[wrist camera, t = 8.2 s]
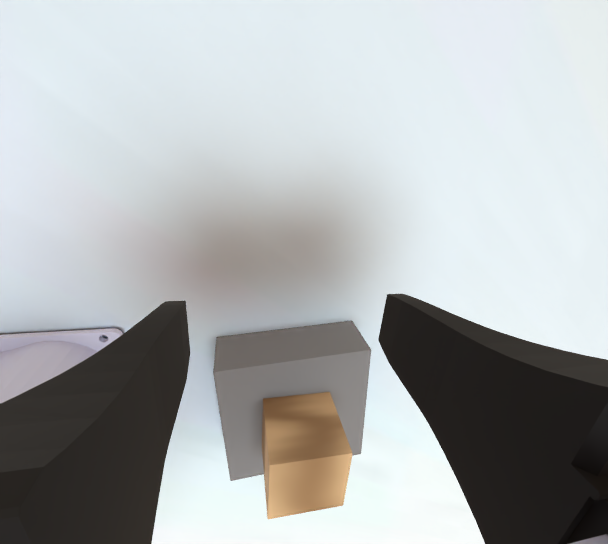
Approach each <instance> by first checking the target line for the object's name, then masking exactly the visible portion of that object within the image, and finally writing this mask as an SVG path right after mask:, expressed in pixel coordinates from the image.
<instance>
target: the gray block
mask: <svg viewBox="0 0 608 544" xmlns="http://www.w3.org/2000/svg"><path fill="white" fill-rule="evenodd" d="M370 355H371V349H370V347H369V346H368V344H367V343H366V341H365V340H364V338H363V337H362V335H361V334H360V332H359V330H358V329H357V327H356V326H355V324H354V323H353V321H345V322H337V323H329V324H321V325H313V326H304V327H296V328H288V329H280V330H272V331H264V332H256V333H247V334H239V335H231V336H223V337H217V340H216V350H215V360H214V371H213V373H214V379H215V386H216V392H217V398H218V405H219V411H220V417H221V423H222V430H223V436H224V442H225V449H226V455H227V461H228V468H229V474H230V480H231V481H233V480H238V479H242V478H247V477H252V476H257V475H262V474H264V467H263V455H262V419H263V399H264V398H274V397H284V396H294V395H304V394H314V393H323V392H330V394H331V397H332V399H333V402H334V405H335V407H336V410H337V413H338V415H339V418H340V421H341V424H342V426H343V429H344V432H345V434H346V437H347V440H348V442H349V445H350V448H351V450H352V456H353V455H357V454H361V447H362V437H363V427H364V417H365V407H366V396H367V386H368V376H369V366H370Z"/></svg>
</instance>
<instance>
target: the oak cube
mask: <svg viewBox="0 0 608 544" xmlns="http://www.w3.org/2000/svg"><path fill="white" fill-rule="evenodd" d="M262 455H263V467H264V480H265V492H266V504H267V516H268V519H272V518H278V517H283V516H288V515H294V514H299V513H305V512H310V511H315V510H321V509H326V508H332V507H337V506H342V505H343V502H344V497H345V491H346V486H347V481H348V475H349V470H350V464H351V459H352V450H351V448H350V445H349V442H348V440H347V437H346V434H345V432H344V429H343V426H342V424H341V421H340V418H339V415H338V413H337V410H336V407H335V405H334V402H333V399H332V397H331V394H330V392H323V393H314V394H304V395H294V396H284V397H274V398H264V399H263V419H262Z"/></svg>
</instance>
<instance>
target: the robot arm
mask: <svg viewBox="0 0 608 544" xmlns="http://www.w3.org/2000/svg"><path fill="white" fill-rule="evenodd" d="M101 335H105V336H107V337H108V338H107V339H105V338H103V337H102V336H101ZM379 342H380V344H381V347H382V349H383V351H384V353H385V355H386V357H387V359H388V362H389V363H390V365H391V366H392V368H393V370H394V371H395V373H396V374H397V376H398V377H399V379H400V380H401V382H402V383H403V385H404V386H405V388H406V389H407V391H408V392H409V394H410V395H411V397H412V398H413V400H414V401H415V403H416V404H417V406H418V407H419V409H420V410H421V412H422V413H423V415H424V417H425V418H426V420H427V422H428V423H429V425H430V427H431V429H432V431H433V432H434V434H435V436H436V438H437V440H438V442H439V444H440V446H441V448H442V450H443V451H444V453H445V455H446V458H447V460H448V462H449V464H450V466H451V468H452V470H453V472H454V474H455V476H456V478H457V480H458V482H459V484H460V486H461V489H462V491H463V493H464V495H465V498H466V500H467V502H468V504H469V506H470V509H471V511H472V513H473V515H474V518H475V520H476V522H477V525H478V527H479V529H480V532H481V534H482V537H483V539H484V542H485V544H608V360H605V359H600V358H595V357H590V356H585V355H581V354H576V353H572V352H567V351H563V350H559V349H555V348H551V347H547V346H543V345H540V344H536V343H532V342H529V341H525V340H522V339H519V338H516V337H513V336H510V335H507V334H503V333H500V332H498V331H495V330H492V329H489V328H486V327H484V326H481V325H479V324H476V323H474V322H471V321H468V320H466V319H464V318H461V317H459V316H456V315H454V314H452V313H449V312H447V311H445V310H442V309H440V308H438V307H435V306H433V305H431V304H429V303H426V302H424V301H421V300H419V299H416V298H414V297H411V296H408V295H405V294H387V299H386V304H385V309H384V314H383V319H382V324H381V329H380V334H379ZM189 357H190V346H189V334H188V323H187V312H186V301H168V302H164V303H163V304H161V305H160V306H159V307H158V308H156V309H155V310H154V311H153V312H151V313H150V314H149V315H148V316H146V317H145V318H144V319H143V320H141V321H140V322H139V323H137V324H136V325H135V326H134V327H132V328H131V329H130V330H128V331H127V332H126V333H124V334H123V333H122V332H121V331H120V330H118V329H114V328H111V329H93V330H76V331H58V332H41V333H23V334H6V335H0V544H151V541H152V535H153V529H154V523H155V516H156V510H157V504H158V497H159V492H160V486H161V480H162V474H163V468H164V463H165V458H166V454H167V449H168V445H169V441H170V438H171V434H172V430H173V427H174V423H175V420H176V416H177V412H178V409H179V405H180V401H181V398H182V394H183V390H184V387H185V383H186V379H187V372H188V365H189Z"/></svg>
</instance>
